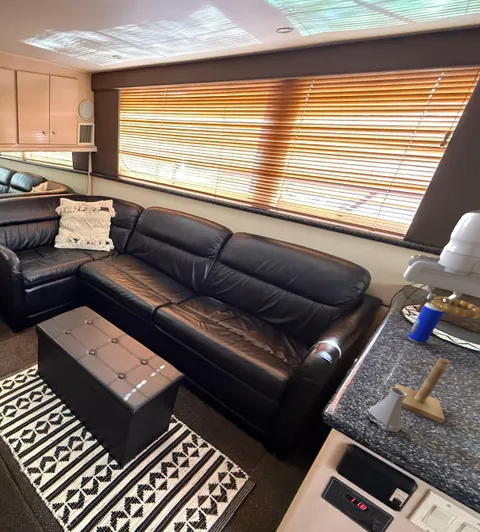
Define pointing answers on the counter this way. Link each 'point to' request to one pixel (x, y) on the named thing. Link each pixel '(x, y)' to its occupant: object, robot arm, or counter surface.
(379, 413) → the flask
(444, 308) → the ring
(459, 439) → the counter surface
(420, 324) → the beverage can
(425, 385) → the stand
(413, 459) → the counter surface
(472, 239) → the robot arm
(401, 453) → the counter surface
